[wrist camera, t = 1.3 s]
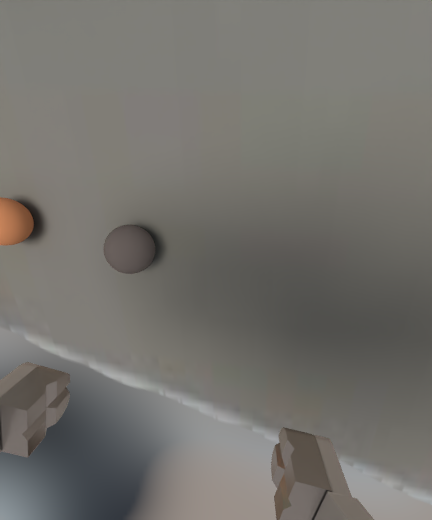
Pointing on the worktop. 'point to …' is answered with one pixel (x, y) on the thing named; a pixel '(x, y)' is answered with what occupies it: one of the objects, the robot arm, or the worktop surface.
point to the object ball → (14, 222)
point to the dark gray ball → (129, 249)
